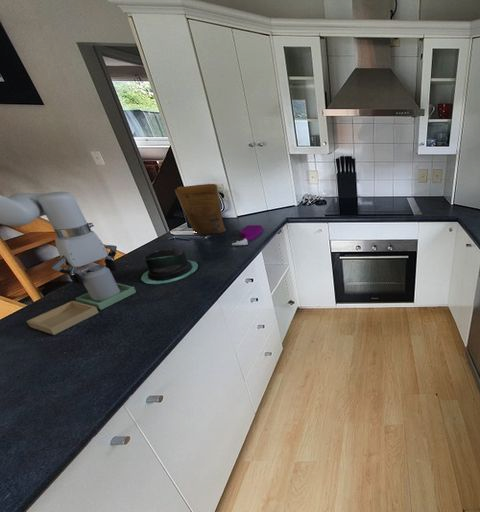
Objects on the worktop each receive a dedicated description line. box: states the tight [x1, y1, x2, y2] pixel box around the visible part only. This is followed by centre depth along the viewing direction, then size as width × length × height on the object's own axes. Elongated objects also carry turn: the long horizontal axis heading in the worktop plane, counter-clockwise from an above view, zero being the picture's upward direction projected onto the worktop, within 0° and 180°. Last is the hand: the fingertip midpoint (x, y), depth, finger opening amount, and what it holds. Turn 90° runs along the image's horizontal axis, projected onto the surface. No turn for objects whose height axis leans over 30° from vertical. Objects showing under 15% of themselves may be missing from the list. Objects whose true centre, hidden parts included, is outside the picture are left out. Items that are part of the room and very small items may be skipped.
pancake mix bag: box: [174, 183, 227, 236], centre depth 151 cm, size 7×19×28 cm, turn 112°
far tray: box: [75, 282, 137, 311], centre depth 99 cm, size 11×11×2 cm
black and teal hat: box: [140, 248, 199, 285], centre depth 117 cm, size 15×19×20 cm
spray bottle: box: [231, 224, 264, 246], centre depth 152 cm, size 3×11×24 cm
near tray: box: [26, 300, 100, 336], centre depth 88 cm, size 11×11×2 cm
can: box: [79, 264, 120, 302], centre depth 97 cm, size 8×8×12 cm
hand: (96, 276), depth 95 cm, fingers open, 9 cm apart
